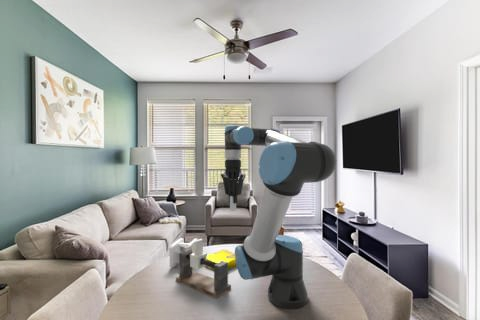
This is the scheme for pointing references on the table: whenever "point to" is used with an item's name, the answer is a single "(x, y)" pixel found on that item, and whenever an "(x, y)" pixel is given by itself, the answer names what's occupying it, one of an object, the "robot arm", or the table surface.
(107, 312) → the table surface
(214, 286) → the cord rack
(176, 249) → the cable organizer
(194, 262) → the sleeve
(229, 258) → the element tile
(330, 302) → the table surface
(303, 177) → the robot arm
